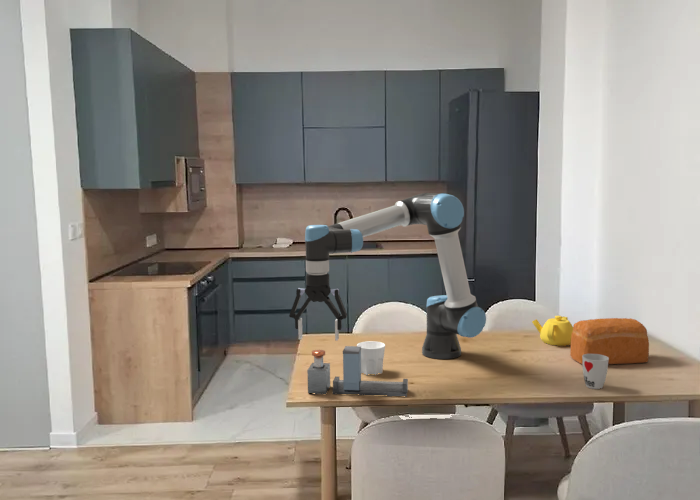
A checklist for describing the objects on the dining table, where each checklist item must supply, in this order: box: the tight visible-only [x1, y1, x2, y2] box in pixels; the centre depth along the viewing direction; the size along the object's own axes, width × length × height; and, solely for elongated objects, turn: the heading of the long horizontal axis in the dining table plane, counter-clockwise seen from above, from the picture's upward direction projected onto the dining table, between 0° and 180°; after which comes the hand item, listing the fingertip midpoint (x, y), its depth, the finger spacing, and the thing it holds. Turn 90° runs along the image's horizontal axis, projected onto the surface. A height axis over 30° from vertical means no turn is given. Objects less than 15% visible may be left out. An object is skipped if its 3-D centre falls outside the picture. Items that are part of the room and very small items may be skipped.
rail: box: [331, 376, 409, 398], centre depth 211 cm, size 24×7×4 cm, turn 82°
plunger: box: [311, 349, 326, 368], centre depth 212 cm, size 4×4×9 cm
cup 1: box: [356, 340, 386, 376], centre depth 231 cm, size 10×10×10 cm
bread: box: [569, 317, 650, 365], centre depth 242 cm, size 14×26×16 cm, turn 97°
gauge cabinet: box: [307, 362, 331, 395], centre depth 213 cm, size 6×8×8 cm
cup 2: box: [582, 354, 609, 390], centre depth 213 cm, size 8×8×10 cm
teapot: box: [531, 315, 574, 347], centre depth 268 cm, size 20×18×11 cm
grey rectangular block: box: [342, 345, 362, 390], centre depth 211 cm, size 5×6×13 cm
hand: (318, 339), depth 211 cm, fingers open, 11 cm apart
